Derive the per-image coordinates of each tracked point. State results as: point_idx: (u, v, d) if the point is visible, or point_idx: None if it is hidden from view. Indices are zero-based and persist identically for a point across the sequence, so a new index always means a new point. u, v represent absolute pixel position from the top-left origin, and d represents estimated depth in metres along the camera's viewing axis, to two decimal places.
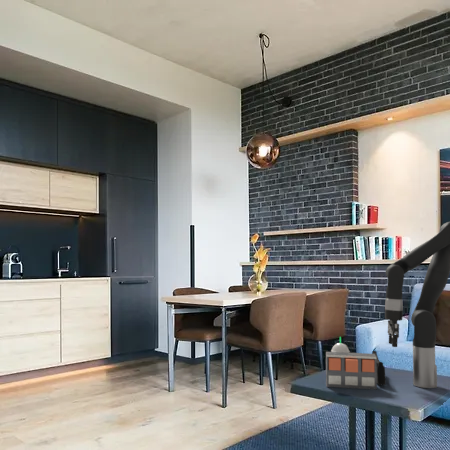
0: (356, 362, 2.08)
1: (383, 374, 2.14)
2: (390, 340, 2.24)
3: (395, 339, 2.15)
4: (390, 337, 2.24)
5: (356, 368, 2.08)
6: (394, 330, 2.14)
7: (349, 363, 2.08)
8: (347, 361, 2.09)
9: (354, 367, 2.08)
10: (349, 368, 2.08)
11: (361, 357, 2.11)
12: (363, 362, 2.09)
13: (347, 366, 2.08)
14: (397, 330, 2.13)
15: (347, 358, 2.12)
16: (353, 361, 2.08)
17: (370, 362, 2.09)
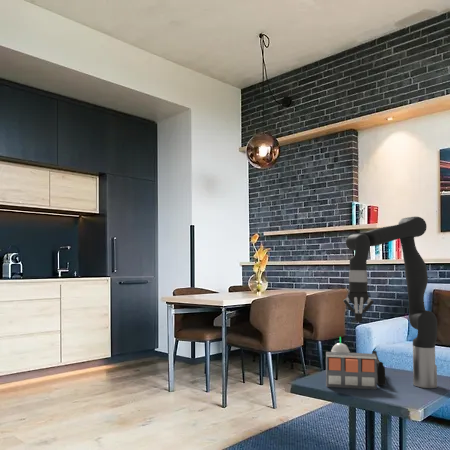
0: (356, 362, 2.08)
1: (383, 374, 2.14)
2: None
3: (361, 314, 2.06)
4: None
5: (356, 368, 2.08)
6: (369, 307, 2.05)
7: (349, 363, 2.08)
8: (347, 361, 2.09)
9: (354, 367, 2.08)
10: (349, 368, 2.08)
11: (361, 357, 2.11)
12: (363, 362, 2.09)
13: (347, 366, 2.08)
14: None
15: (347, 358, 2.12)
16: (353, 361, 2.08)
17: (370, 362, 2.09)
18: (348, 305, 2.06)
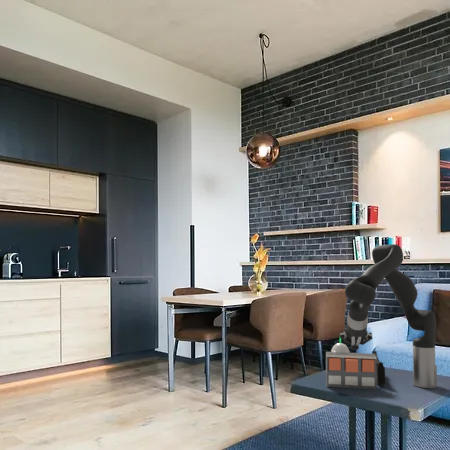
0: (356, 362, 2.08)
1: (383, 374, 2.14)
2: None
3: None
4: None
5: (356, 368, 2.08)
6: None
7: (349, 363, 2.08)
8: (347, 361, 2.09)
9: (354, 367, 2.08)
10: (349, 368, 2.08)
11: (361, 357, 2.11)
12: (363, 362, 2.09)
13: (347, 366, 2.08)
14: None
15: (347, 358, 2.12)
16: (353, 361, 2.08)
17: (370, 362, 2.09)
18: (345, 340, 1.93)
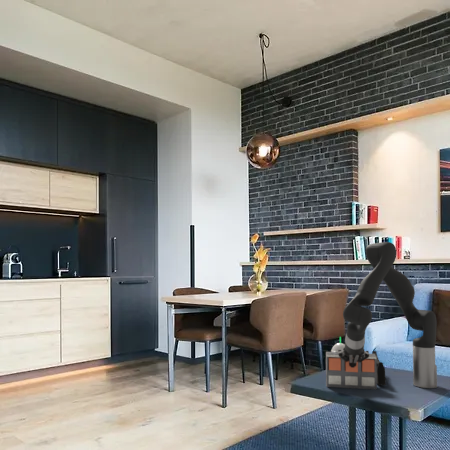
0: None
1: (383, 374, 2.14)
2: None
3: None
4: None
5: (356, 368, 2.08)
6: None
7: None
8: None
9: (354, 367, 2.08)
10: (349, 368, 2.09)
11: (361, 357, 2.11)
12: (363, 362, 2.09)
13: (347, 366, 2.09)
14: None
15: None
16: None
17: (370, 362, 2.09)
18: (343, 358, 2.03)
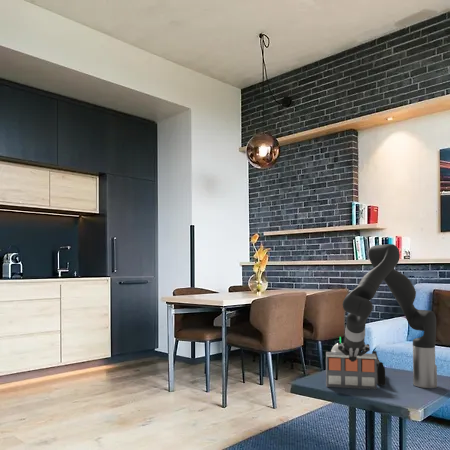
0: (356, 361, 2.10)
1: (383, 374, 2.14)
2: None
3: None
4: None
5: (356, 367, 2.10)
6: None
7: (349, 362, 2.10)
8: (347, 360, 2.11)
9: (354, 366, 2.10)
10: (349, 367, 2.10)
11: (361, 357, 2.11)
12: (363, 362, 2.09)
13: (347, 365, 2.10)
14: None
15: None
16: None
17: (370, 362, 2.09)
18: (343, 351, 1.97)
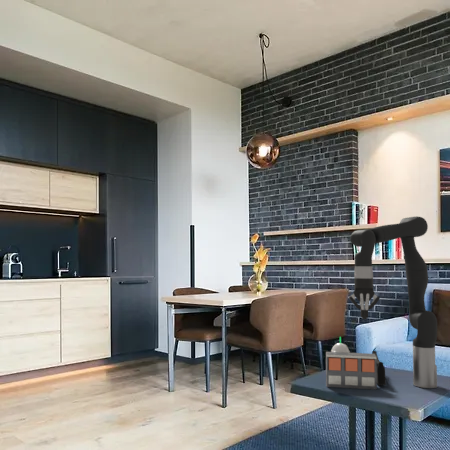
0: (356, 361, 2.10)
1: (383, 374, 2.14)
2: None
3: (367, 310, 2.04)
4: None
5: (356, 367, 2.10)
6: (375, 303, 2.03)
7: (349, 362, 2.10)
8: (347, 360, 2.11)
9: (354, 366, 2.10)
10: (349, 367, 2.10)
11: (361, 357, 2.11)
12: (363, 362, 2.09)
13: (347, 365, 2.10)
14: None
15: None
16: (353, 360, 2.10)
17: (370, 362, 2.09)
18: (354, 302, 2.04)
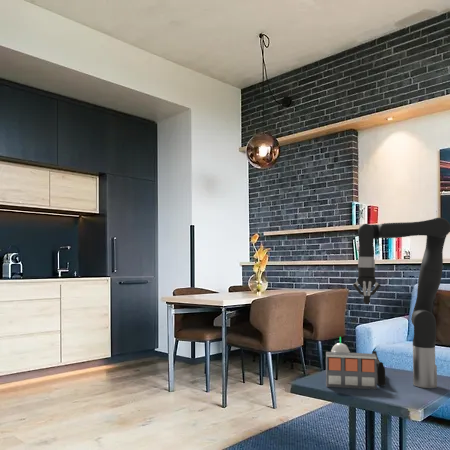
0: (356, 361, 2.10)
1: (383, 374, 2.13)
2: None
3: (369, 296, 2.27)
4: None
5: (356, 367, 2.10)
6: None
7: (349, 362, 2.10)
8: (347, 360, 2.11)
9: (354, 366, 2.10)
10: (349, 367, 2.10)
11: (361, 357, 2.11)
12: (363, 362, 2.09)
13: (347, 365, 2.10)
14: (376, 289, 2.27)
15: None
16: (353, 360, 2.10)
17: (370, 362, 2.09)
18: (357, 288, 2.27)
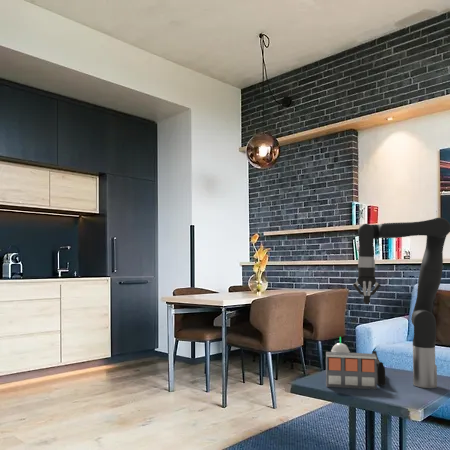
0: (356, 361, 2.10)
1: (383, 374, 2.13)
2: None
3: (369, 296, 2.27)
4: None
5: (356, 367, 2.10)
6: None
7: (349, 362, 2.10)
8: (347, 360, 2.11)
9: (354, 366, 2.10)
10: (349, 367, 2.10)
11: (361, 357, 2.11)
12: (363, 362, 2.09)
13: (347, 365, 2.10)
14: None
15: None
16: (353, 360, 2.10)
17: (370, 362, 2.09)
18: (357, 288, 2.27)
